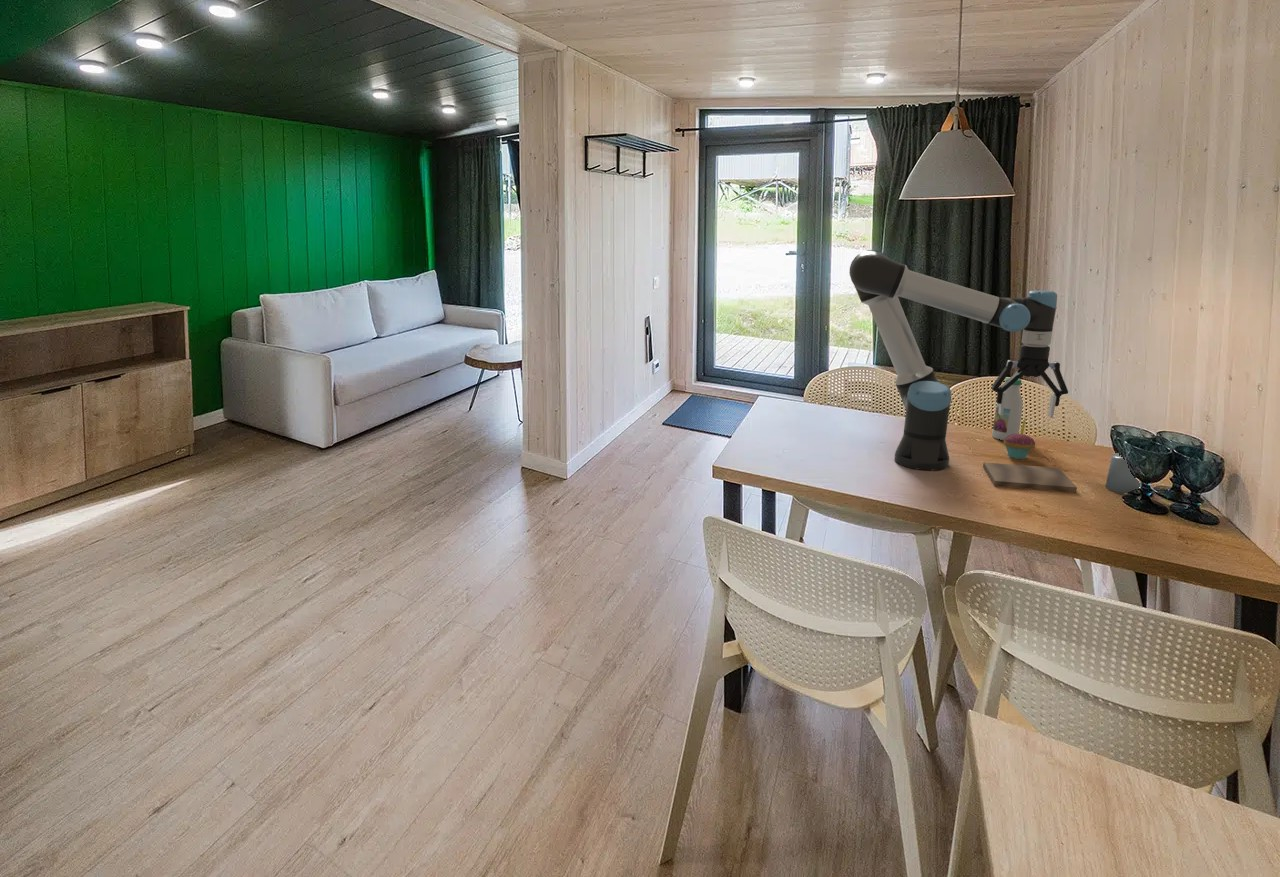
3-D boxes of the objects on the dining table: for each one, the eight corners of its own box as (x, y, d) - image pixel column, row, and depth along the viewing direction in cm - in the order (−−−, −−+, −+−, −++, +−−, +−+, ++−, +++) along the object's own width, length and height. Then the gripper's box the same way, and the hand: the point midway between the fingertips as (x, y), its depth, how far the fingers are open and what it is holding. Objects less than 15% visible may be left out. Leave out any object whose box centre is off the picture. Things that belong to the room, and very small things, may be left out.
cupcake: (1005, 450, 225) (1011, 413, 222) (1035, 456, 220) (1042, 418, 217) (998, 457, 219) (1004, 419, 215) (1029, 463, 214) (1035, 424, 210)
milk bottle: (1012, 435, 242) (1021, 376, 236) (1021, 441, 234) (1031, 381, 228) (988, 434, 242) (996, 376, 236) (996, 441, 235) (1005, 381, 229)
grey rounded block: (1111, 493, 190) (1118, 461, 188) (1101, 483, 198) (1107, 452, 195) (1145, 496, 189) (1153, 463, 186) (1133, 485, 196) (1140, 454, 193)
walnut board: (994, 486, 196) (995, 480, 195) (982, 467, 210) (983, 462, 210) (1076, 492, 191) (1077, 487, 190) (1058, 472, 206) (1059, 468, 205)
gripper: (991, 345, 209) (982, 416, 215) (1087, 348, 203) (1075, 420, 209) (986, 341, 216) (977, 410, 222) (1079, 343, 210) (1067, 414, 216)
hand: (1025, 415), depth 216 cm, fingers open, 13 cm apart
